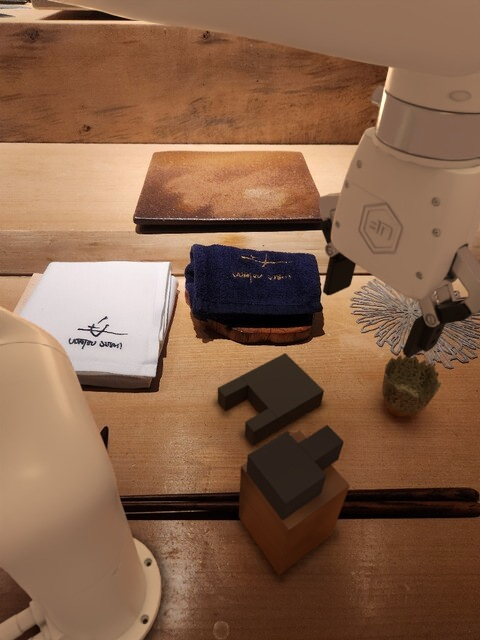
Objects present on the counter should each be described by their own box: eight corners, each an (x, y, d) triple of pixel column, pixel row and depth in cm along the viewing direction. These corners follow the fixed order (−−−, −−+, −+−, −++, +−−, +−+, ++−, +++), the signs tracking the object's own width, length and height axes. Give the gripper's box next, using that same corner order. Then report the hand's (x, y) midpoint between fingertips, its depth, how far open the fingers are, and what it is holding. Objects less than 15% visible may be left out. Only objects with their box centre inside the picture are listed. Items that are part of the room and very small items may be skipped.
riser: (278, 575, 51) (288, 529, 43) (238, 517, 56) (240, 465, 48) (331, 534, 55) (350, 485, 47) (289, 482, 60) (299, 429, 51)
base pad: (252, 446, 63) (253, 431, 61) (217, 402, 69) (217, 387, 66) (320, 405, 69) (324, 390, 66) (283, 367, 74) (285, 352, 72)
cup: (426, 434, 65) (444, 400, 60) (373, 425, 66) (386, 390, 61) (421, 394, 71) (438, 358, 65) (373, 386, 72) (385, 350, 66)
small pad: (282, 521, 44) (285, 503, 41) (246, 472, 47) (247, 454, 45) (350, 472, 48) (356, 454, 45) (312, 431, 51) (316, 412, 49)
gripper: (305, 96, 34) (281, 282, 45) (528, 189, 24) (424, 399, 35) (375, 84, 37) (336, 259, 49) (596, 159, 27) (481, 359, 38)
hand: (373, 317), depth 42 cm, fingers open, 9 cm apart
